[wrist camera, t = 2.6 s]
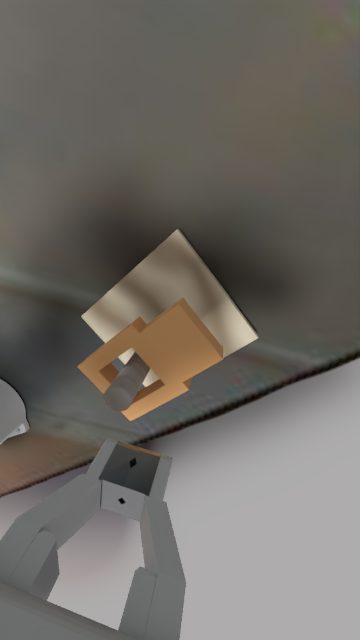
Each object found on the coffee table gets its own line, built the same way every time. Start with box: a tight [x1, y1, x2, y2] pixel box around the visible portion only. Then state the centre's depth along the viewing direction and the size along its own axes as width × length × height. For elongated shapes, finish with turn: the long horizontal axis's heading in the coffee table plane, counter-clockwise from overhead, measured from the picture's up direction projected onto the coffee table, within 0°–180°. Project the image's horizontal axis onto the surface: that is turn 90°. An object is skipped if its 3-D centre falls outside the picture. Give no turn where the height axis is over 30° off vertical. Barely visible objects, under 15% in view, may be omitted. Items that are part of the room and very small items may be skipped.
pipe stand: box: [81, 229, 258, 411], centre depth 26 cm, size 20×18×17 cm
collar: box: [78, 298, 223, 421], centre depth 21 cm, size 12×8×2 cm, turn 129°
